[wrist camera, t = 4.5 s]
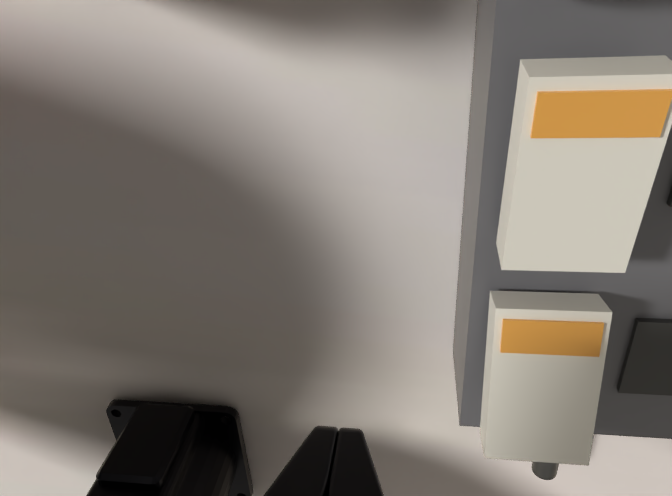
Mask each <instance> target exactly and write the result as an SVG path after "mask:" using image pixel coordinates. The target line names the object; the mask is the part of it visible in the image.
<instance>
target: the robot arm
mask: <svg viewBox="0 0 672 496" xmlns="http://www.w3.org/2000/svg"><path fill="white" fill-rule="evenodd" d="M106 412H107V415H108V418H109V421H110V424H111V427H112V429H113V432H114V435H115V438H116V442H115V444H114V446H113V447H112V449H111V451H110V452H109V454H108V456H107V457H106V459H105V461H104V462H103V464H102V466H101V467H100V469H99V471H98V472H97V475H96V478H97V479H96V480H95V482H94V484H93V485H92V487H91V489H90V490H89V492H88V494H87V495H86V496H252V494H253V488H252V482H251V477H250V472H249V467H248V461H247V456H246V451H245V446H244V440H243V435H242V430H241V424H240V419H239V414H238V412H237V411H236V410H235V409H234V408H232V407H228V406H215V405H198V404H182V403H165V402H149V401H132V400H113V401H112V402H111V403H110V405H109V406H108V408H107V410H106ZM228 417H229V418H228ZM264 496H384V494H383V491H382V488H381V485H380V482H379V479H378V476H377V473H376V470H375V467H374V464H373V461H372V458H371V455H370V452H369V449H368V446H367V443H366V440H365V437H364V434H363V432H362V430H360V429H354V428H341V429H340V430H338V429H337V428H336V427H328V426H317V427H315V428H314V429H313V430H312V431H311V433H310V434H309V435H308V437H307V438H306V440H305V441H304V442H303V444H302V445H301V446H300V448H299V449H298V450H297V452H296V453H295V454H294V456H293V457H292V458H291V460H290V461H289V462H288V464H287V465H286V466H285V468H284V469H283V470H282V472H281V473H280V474H279V476H278V477H277V479H276V480H275V481H274V483H273V484H272V485H271V487H270V488H269V489H268V491H267V492H266V493H265V495H264Z"/></svg>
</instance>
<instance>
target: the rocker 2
mask: <svg viewBox="0 0 672 496" xmlns="http://www.w3.org/2000/svg"><path fill="white" fill-rule="evenodd" d="M612 313H613V312H612V311H611V310H610V308H609V307H608V306H607V304H606V303H605V302H604V301H603V299H602V298H601V297H600V295H599V294H590V293H555V292H521V291H490V298H489V312H488V325H487V339H486V353H485V366H484V380H483V394H482V407H481V421H480V437H481V443H482V449H483V454H484V458H489V459H503V460H518V461H532V462H546V463H561V464H575V465H589V460H590V453H591V447H592V440H593V434H594V428H595V421H596V415H597V409H598V402H599V396H600V389H601V383H602V377H603V370H604V364H605V357H606V351H607V345H608V338H609V332H610V325H611V319H612Z"/></svg>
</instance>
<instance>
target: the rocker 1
mask: <svg viewBox="0 0 672 496" xmlns="http://www.w3.org/2000/svg"><path fill="white" fill-rule="evenodd" d="M671 125H672V60H670V59H669V58H668V57H667V56H665V55H662V56H625V57H588V58H550V59H520V66H519V74H518V81H517V89H516V96H515V104H514V111H513V119H512V126H511V134H510V142H509V149H508V157H507V164H506V172H505V179H504V187H503V194H502V202H501V209H500V217H499V225H498V232H497V240H496V245H497V250H498V255H499V260H500V265H501V270H523V271H565V272H607V273H625V272H626V268H627V265H628V262H629V259H630V256H631V252H632V249H633V246H634V243H635V240H636V237H637V233H638V230H639V227H640V224H641V221H642V217H643V214H644V211H645V208H646V205H647V202H648V198H649V195H650V192H651V189H652V186H653V183H654V179H655V176H656V173H657V170H658V167H659V163H660V160H661V157H662V154H663V151H664V148H665V144H666V141H667V138H668V135H669V132H670V129H671Z"/></svg>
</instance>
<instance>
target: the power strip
mask: <svg viewBox="0 0 672 496" xmlns="http://www.w3.org/2000/svg"><path fill="white" fill-rule="evenodd" d="M662 55H665V56H667V57H668V58H669V59H670V60H672V0H478V5H477V19H476V33H475V48H474V62H473V76H472V90H471V104H470V118H469V132H468V146H467V160H466V174H465V188H464V202H463V216H462V230H461V244H460V258H459V272H458V286H457V300H456V314H455V328H454V343H453V358H454V369H455V380H456V391H457V402H458V414H459V425H460V426H474V427H480V421H481V407H482V394H483V380H484V366H485V353H486V339H487V325H488V312H489V298H490V291H521V292H555V293H590V294H599V295H600V297H601V298H602V299H603V301H604V302H605V303H606V304H607V306H608V307H609V308H610V310H611V311H612V312H613V313H612V319H611V325H610V332H609V338H608V345H607V351H606V357H605V364H604V370H603V377H602V383H601V389H600V396H599V402H598V409H597V415H596V421H595V428H594V434H603V435H619V436H635V437H651V438H667V439H672V125H671V129H670V132H669V135H668V138H667V141H666V144H665V148H664V151H663V154H662V157H661V160H660V163H659V167H658V170H657V173H656V176H655V179H654V183H653V186H652V189H651V192H650V195H649V198H648V202H647V205H646V208H645V211H644V214H643V217H642V221H641V224H640V227H639V230H638V233H637V237H636V240H635V243H634V246H633V249H632V252H631V256H630V259H629V262H628V265H627V268H626V272H625V273H607V272H565V271H523V270H501V265H500V260H499V255H498V250H497V245H496V240H497V232H498V225H499V217H500V209H501V202H502V194H503V187H504V179H505V172H506V164H507V157H508V149H509V142H510V134H511V126H512V119H513V111H514V104H515V96H516V89H517V81H518V74H519V66H520V59H550V58H588V57H625V56H662ZM558 465H559V463H546V462H533V463H532V471H533V472H534V474H535V475H536V476H537V477H539V478H541V479H544V480H551V479H553V478H555V477H556V474H557V470H558Z"/></svg>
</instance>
